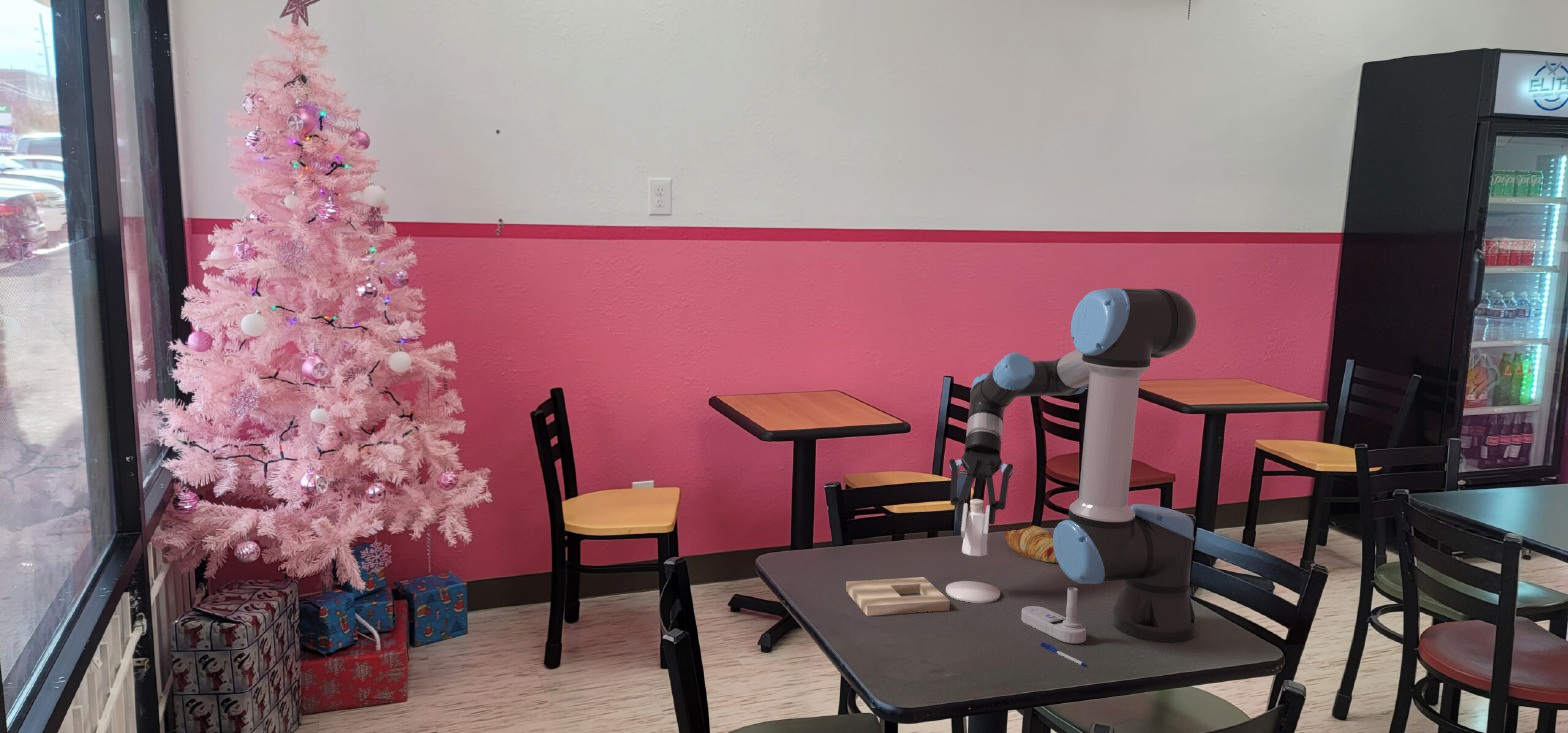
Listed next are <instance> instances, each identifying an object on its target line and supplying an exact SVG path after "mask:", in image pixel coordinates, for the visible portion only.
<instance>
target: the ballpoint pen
mask: <svg viewBox="0 0 1568 733" xmlns="http://www.w3.org/2000/svg"><path fill="white" fill-rule="evenodd" d="M1040 647H1042V648H1044V647H1045V648H1044V649H1045V650H1048V649H1049V650H1048V651H1050V650H1051V651H1050V652H1052V651H1053V652H1052V653H1054V652H1056V653H1058V654H1057V655H1059V656H1061V657H1063V656H1064V657H1063V658H1065V659H1067V660H1069V661H1071V662H1073V661H1074V663H1076V664H1077V663H1078V664H1077V665H1080V666H1081V667H1085V666H1086V667H1087V664H1086V663H1084V662H1083V661H1080V660H1079V659H1077V658H1075V657H1072V656H1070V655H1068V654H1066V653H1065V652H1062V651H1059V649H1057V648H1055V646H1052V645H1050V644H1048V643H1046V642H1041V643H1040ZM1056 653H1055V654H1056Z"/></svg>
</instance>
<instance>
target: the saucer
mask: <svg viewBox="0 0 1568 733" xmlns="http://www.w3.org/2000/svg"><path fill="white" fill-rule="evenodd" d="M945 593H947V594H946V596H948V597H949V596H950V597H949V598H951V599H953V598H954V600H955V601H958V600H960V601H959V602H962V601H965V602H964V603H968V602H970V603H969V604H989V603H994V602H996V601H998V600H999V599H1000V598H1001V597H1000V596H1001V591H1000V589H999V588H997V586H994V585H991V584H989V583H985V582H981V581H973V580H961V581H960V580H959V581H954V582H950V583H948V584H947V585H946V586H945ZM993 601H994V602H993Z"/></svg>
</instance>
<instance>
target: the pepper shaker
mask: <svg viewBox="0 0 1568 733" xmlns="http://www.w3.org/2000/svg"><path fill="white" fill-rule="evenodd" d="M969 503H970V505H969V508H970V509H969V510H968V513H967V523H966V533H965V538H962V539H963V540H962V541H963V542H962V547H961V553H962V554H964V555H966V556H967V555H968V556H969V557H984V556H987V555H988V542H987V541H988V540H984V523H985V512H986V511H984V505H985V501H984V500H983V499H979V498H973V499H970V501H969Z"/></svg>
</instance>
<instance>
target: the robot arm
mask: <svg viewBox="0 0 1568 733" xmlns="http://www.w3.org/2000/svg"><path fill="white" fill-rule="evenodd" d="M1194 310H1195V309H1194V308H1193V306H1192V304H1191V303H1190V301H1189V300H1188V299H1187V298H1186V297H1184V296H1183V295H1181V293H1178V292H1176V291H1173V290H1171V289H1166V288H1123V287H1122V288H1121V287H1120V288H1119V287H1110V288H1102V289H1095V290H1092V291H1090V292H1087V294H1086V295H1084V296H1083V299H1081V300H1080V301H1079V302H1078V304H1077V305H1076V307H1075V309H1074V312H1073V313H1072V317H1071V323H1070V337H1071V339H1072V340H1073V341H1072V344H1073V345H1074V348H1075V350H1072V351H1071V352H1068V353H1067V354H1065V355H1063V356H1061V357H1059V358H1057V359H1054V360H1031V359H1030V358H1029V357H1028V356H1027V355H1024V354H1021V353H1020V352H1011V353H1008V354H1006V355H1004V357H1002V358H1001V360H999V361H998V362H997V363H996V364H995V365H994V367H993V369H992V370H991V371H990V372H989V373H983V374H981V375H978V376H976V377H975V378H974V379H973V381H972V385H971V389H970V392H969V396H970V398H969V407H968V419H967V425H966V437H965V442H964V443H965V444H964V453H963V455H962V456H961V458H960V459H957V460H955V459H954V458H951V459H949V461H948V464H949V470H950V472H951V474H950V475H951V476H950V479H951V480H950V492H949V493H950V494H949V501H950V505H951V506H956V507H957V512H956V519H957V521H958V522H961V527H960V537H961V538H962V539H964V538H965V533H966V523H967V513H968V511H969V507H968V506H969V504H968V503H967V501H968V499H969V495H970V492H971V490H972V486H973V483H974V482H975V479H983V480H985V482H986V488H987V491H986V492H987V497H988V505H985V511H984V512H985V523H984V540H987V541H988V539H989V538H988V537H989V528H990V527H989V526H990V525H995V521H996V512H997V511H998V510H1002V511H1003V510H1005V509H1006V504H1007V495H1008V489H1009V482H1010V479H1011V477H1012V475H1013V473H1014V465H1013V464H1012V463H1007V464H1006V463H1004V462H1003V461H1002V460H1003V459H1002V458H1001V453H1002V452H1001V450H1002V439H1003V428H1004V427H1003V426H1004V417H1005V416H1004V415H1005V410H1006V408H1007V407H1008V406H1009V405H1011V403H1012V402H1013V401H1014V400H1015V399H1016V398H1019V397H1039V396H1041V397H1042V396H1043V397H1044V396H1045V397H1046V396H1067V397H1068V396H1073V395H1079V394H1082V393H1084V392H1085V391H1086V388H1087V387H1088V388H1087V389H1088V390H1087V398H1086V399H1087V400H1086V401H1087V403H1086V411H1085V422H1084V433H1083V434H1084V435H1083V445H1082V446H1083V447H1082V455H1081V457H1082V458H1081V469H1080V470H1081V471H1080V482H1079V489H1078V498H1077V499H1076V500H1074V502H1072V503H1070V505H1069V508H1068V516H1067V517H1068V519H1065V520H1062V521H1061V522H1059V523H1058V524H1057V526H1055V528H1054V530H1053V534H1052V535H1053V547H1054V552H1055V556H1056V559H1057V561H1058V563H1059V564H1058V565H1059V567H1060V569H1061V570H1062V572H1063V573H1064V575H1066V576H1067V578H1069V579H1070V580H1071V581H1073V582H1075V583H1078V584H1094V585H1099V584H1102V583H1109V582H1110V583H1111V582H1117V581H1118V582H1119V581H1123V585H1122V588H1121V590H1120V593H1119V595H1118V597H1117V600H1116V603H1115V605H1114V607H1113V608H1112V616H1111V617H1112V618H1111V624H1112V625H1113V626H1114V627H1115V628H1116V629H1117V630H1118V631H1121V632H1122V633H1124V634H1127V635H1130V636H1132V637H1135V638H1138V639H1143V640H1146V641H1147V640H1148V641H1153V642H1161V643H1178V642H1184V641H1189V640H1191V639H1193V638H1195V636H1196V634H1197V618H1196V615H1195V611H1194V607H1193V603H1192V598H1191V596H1190V584H1191V571H1192V570H1191V569H1192V561H1193V560H1192V559H1193V550H1194V541H1195V537H1194V522H1193V520H1192V518H1191V517H1190V516H1189V515H1188V514H1186V513H1183V512H1180V511H1178V510H1174V509H1171V508H1167V507H1163V506H1157V505H1152V504H1145V503H1134V504H1132V505H1130V506H1129V500H1128V499H1129V492H1130V491H1129V490H1130V482H1131V474H1132V473H1131V469H1132V463H1133V462H1132V460H1133V450H1134V440H1135V430H1136V429H1135V428H1136V418H1137V410H1138V409H1137V408H1138V400H1139V399H1138V398H1139V388H1140V378H1141V376H1142V374H1143V373H1145V372H1146V371H1147V370H1148V369H1149V368H1150V366H1151V359H1160V358H1164V357H1166V356H1169V355H1171V354H1173V353H1176V352H1177V351H1178V352H1179V350H1181V349H1183V348H1184V347H1186V346H1187V345H1188V344H1189V342H1191V340H1192V339H1193V337H1194V335H1195V332H1196V328H1197V318H1196V317H1197V316H1196V313H1195V311H1194ZM961 466H963V468H964V470H965V471H966V478H965V480H964V482H963V486H962V489H961V493H960V495H959V496H958V481H959V476H958V472H959V471H960V470H961ZM999 470H1001V471H1000V472H1001V475H1002V479H1001V485H1000V494H999V500H996V496H995V486H994V480H993V476H994V475H995V474H996V473H997V472H998V471H999Z"/></svg>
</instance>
